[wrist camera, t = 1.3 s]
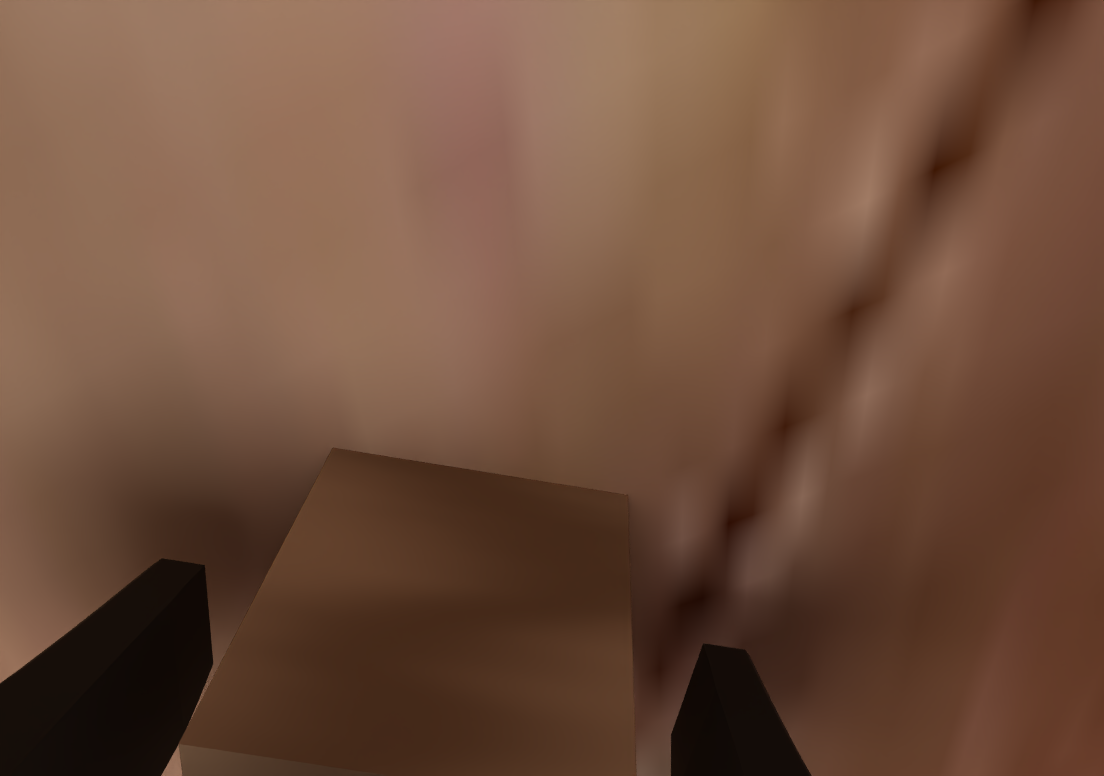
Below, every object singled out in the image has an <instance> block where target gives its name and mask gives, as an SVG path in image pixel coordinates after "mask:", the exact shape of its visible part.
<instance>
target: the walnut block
mask: <svg viewBox="0 0 1104 776" xmlns="http://www.w3.org/2000/svg"><path fill="white" fill-rule="evenodd" d="M179 752H180V759H181V767H182V774H183V776H636V745H635V712H634V680H633V647H632V614H631V581H630V548H629V515H628V495H624V494H618V493H611V492H605V491H599V490H593V489H586V488H580V487H574V486H568V485H562V484H555V483H549V482H543V481H537V480H530V479H524V478H518V477H512V476H506V475H499V474H493V473H487V472H481V471H474V470H468V469H462V468H456V467H449V466H443V465H437V464H431V463H425V462H418V461H412V460H406V459H400V458H393V457H387V456H381V455H375V454H368V453H362V452H356V451H350V450H344V449H337V448H332V450H331V452H330V454H329V456H328V458H327V460H326V462H325V464H324V466H323V468H322V469H321V471H320V473H319V475H318V477H317V479H316V481H315V483H314V485H313V487H312V489H311V491H310V493H309V494H308V496H307V498H306V500H305V502H304V504H303V506H302V508H301V510H300V512H299V514H298V516H297V517H296V519H295V521H294V523H293V525H292V527H291V529H290V531H289V533H288V535H287V537H286V539H285V540H284V542H283V544H282V546H281V548H280V550H279V552H278V554H277V556H276V558H275V560H274V562H273V564H272V565H271V567H270V569H269V571H268V573H267V575H266V577H265V579H264V581H263V583H262V585H261V587H260V588H259V590H258V592H257V594H256V596H255V598H254V600H253V602H252V604H251V606H250V608H249V610H248V612H247V613H246V615H245V617H244V619H243V621H242V623H241V625H240V627H239V629H238V631H237V633H236V635H235V636H234V638H233V640H232V642H231V644H230V646H229V648H228V650H227V652H226V654H225V656H224V658H223V659H222V661H221V663H220V665H219V667H218V669H217V671H216V673H215V675H214V677H213V679H212V681H211V683H210V684H209V686H208V688H207V690H206V692H205V694H204V696H203V698H202V700H201V702H200V704H199V706H198V707H197V709H196V711H195V713H194V715H193V717H192V719H191V721H190V723H189V725H188V727H187V729H186V730H185V732H184V734H183V736H182V738H181V740H180V742H179Z"/></svg>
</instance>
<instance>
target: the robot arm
mask: <svg viewBox="0 0 1104 776" xmlns="http://www.w3.org/2000/svg"><path fill="white" fill-rule="evenodd" d="M212 666H213V655H212V644H211V632H210V621H209V610H208V598H207V587H206V575H205V565H200V564H194V563H188V562H181V561H175V560H168V559H161V560H159V561H158V562H156V563H155V564H153V565H152V566H151V567H150V568H148V569H147V570H146V571H144V572H143V573H142V574H141V575H139V576H138V577H137V578H136V579H134V580H133V581H132V582H131V583H129V584H128V585H127V586H126V587H124V588H123V589H122V590H121V591H120V592H118V593H117V594H116V595H115V596H113V597H112V598H111V599H110V600H108V601H107V602H106V603H105V604H103V605H102V606H101V607H100V608H98V609H97V610H96V611H95V612H93V613H92V614H91V615H90V616H88V617H87V618H86V619H84V620H83V621H82V622H81V623H79V624H78V625H77V626H76V627H74V628H73V629H72V630H71V631H69V632H68V633H67V634H65V635H64V636H63V637H61V638H60V639H59V640H57V641H56V642H55V643H53V644H52V645H51V646H50V647H48V648H47V649H46V650H44V651H43V652H42V653H40V654H39V655H38V656H36V657H35V658H34V659H32V660H31V661H30V662H28V663H27V664H26V665H25V666H23V667H22V668H21V669H19V670H18V671H17V672H15V673H14V674H12V675H11V676H10V677H8V678H7V679H6V680H4V681H3V682H1V683H0V776H161V775H162V773H163V771H164V770H165V768H166V766H167V764H168V762H169V761H170V759H171V757H172V755H173V753H174V752H175V750H176V748H177V746H178V744H179V742H180V740H181V738H182V736H183V734H184V732H185V730H186V728H187V726H188V724H189V721H190V719H191V717H192V714H193V712H194V710H195V707H196V705H197V703H198V700H199V698H200V695H201V693H202V690H203V688H204V686H205V683H206V681H207V678H208V676H209V673H210V671H211V668H212ZM671 776H811V774H810V772H809V770H808V769H807V767H806V765H805V763H804V762H803V760H802V758H801V756H800V754H799V752H798V751H797V749H796V747H795V745H794V743H793V741H792V739H791V738H790V736H789V734H788V732H787V730H786V728H785V726H784V724H783V722H782V720H781V718H780V716H779V715H778V713H777V711H776V709H775V707H774V705H773V703H772V701H771V699H770V697H769V695H768V693H767V691H766V689H765V687H764V685H763V683H762V681H761V678H760V676H759V674H758V672H757V670H756V668H755V666H754V664H753V662H752V660H751V658H750V656H749V655H748V653H747V652H746V651H745V650H743V649H736V648H730V647H723V646H717V645H711V644H704V643H703V646H702V648H701V651H700V654H699V657H698V660H697V663H696V665H695V668H694V671H693V674H692V677H691V680H690V683H689V685H688V688H687V691H686V694H685V697H684V700H683V702H682V705H681V708H680V711H679V714H678V717H677V720H676V722H675V725H674V728H673V731H672V734H671Z"/></svg>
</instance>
